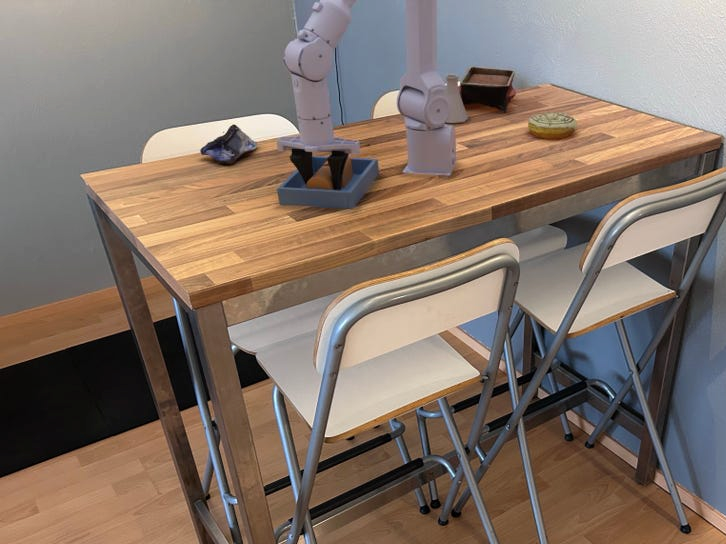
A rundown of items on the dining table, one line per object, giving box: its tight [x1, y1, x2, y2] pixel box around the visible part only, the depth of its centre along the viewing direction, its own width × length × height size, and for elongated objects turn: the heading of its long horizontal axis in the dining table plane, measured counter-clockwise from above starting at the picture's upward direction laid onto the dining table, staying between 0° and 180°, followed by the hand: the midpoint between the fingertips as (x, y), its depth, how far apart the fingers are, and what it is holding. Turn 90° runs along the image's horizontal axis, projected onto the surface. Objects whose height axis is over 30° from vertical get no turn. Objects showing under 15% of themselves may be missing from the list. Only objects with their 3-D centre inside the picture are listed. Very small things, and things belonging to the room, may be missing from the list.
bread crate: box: [276, 155, 380, 210], centre depth 137 cm, size 14×17×4 cm
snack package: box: [199, 124, 259, 165], centre depth 153 cm, size 12×6×12 cm
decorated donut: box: [527, 112, 578, 140], centre depth 164 cm, size 10×11×4 cm
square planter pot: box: [458, 66, 517, 113], centre depth 182 cm, size 14×18×10 cm
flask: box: [444, 73, 469, 124], centre depth 172 cm, size 7×7×10 cm
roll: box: [322, 156, 353, 188], centre depth 140 cm, size 4×6×5 cm
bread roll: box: [306, 166, 342, 191], centre depth 134 cm, size 4×6×5 cm
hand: (324, 190), depth 134 cm, fingers closed on bread roll, 4 cm apart
